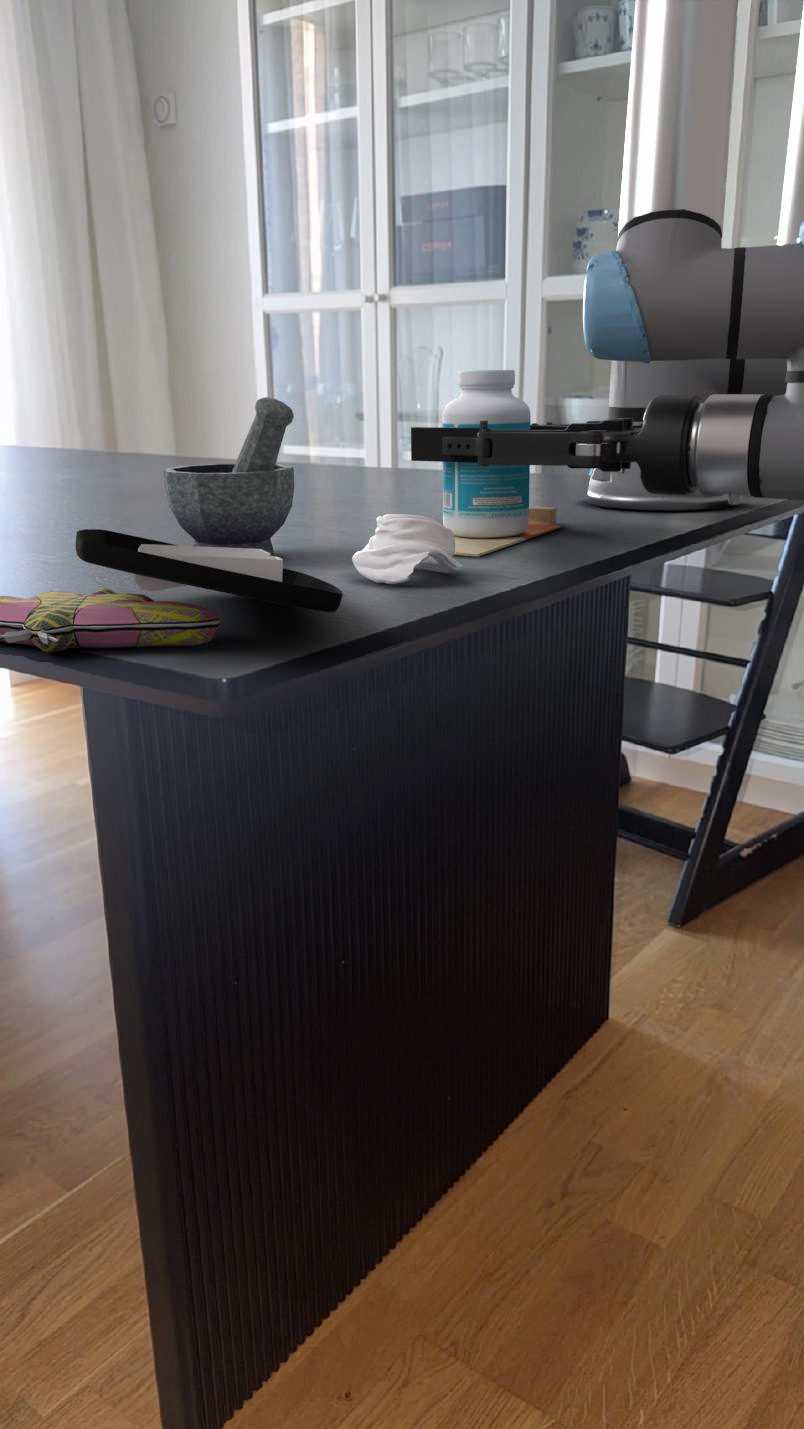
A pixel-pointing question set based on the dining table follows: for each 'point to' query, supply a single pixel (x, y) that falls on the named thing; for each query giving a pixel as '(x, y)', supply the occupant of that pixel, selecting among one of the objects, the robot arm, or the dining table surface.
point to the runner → (497, 541)
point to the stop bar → (542, 515)
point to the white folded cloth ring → (406, 549)
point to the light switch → (206, 569)
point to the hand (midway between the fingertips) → (435, 441)
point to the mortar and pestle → (238, 488)
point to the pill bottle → (491, 492)
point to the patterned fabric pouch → (103, 621)
